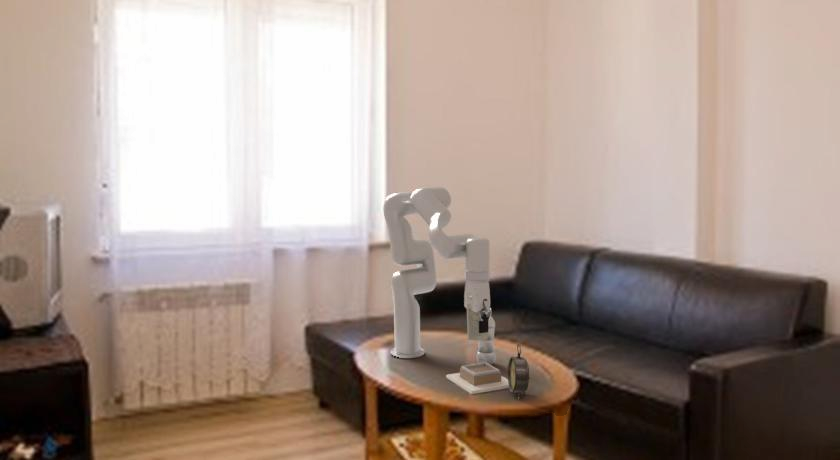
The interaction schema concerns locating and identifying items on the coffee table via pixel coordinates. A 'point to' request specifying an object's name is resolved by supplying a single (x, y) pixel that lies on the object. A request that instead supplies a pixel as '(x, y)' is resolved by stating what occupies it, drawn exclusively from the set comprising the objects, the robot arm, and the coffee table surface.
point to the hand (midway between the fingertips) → (477, 329)
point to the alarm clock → (518, 374)
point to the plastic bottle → (487, 345)
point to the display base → (480, 387)
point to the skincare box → (474, 326)
